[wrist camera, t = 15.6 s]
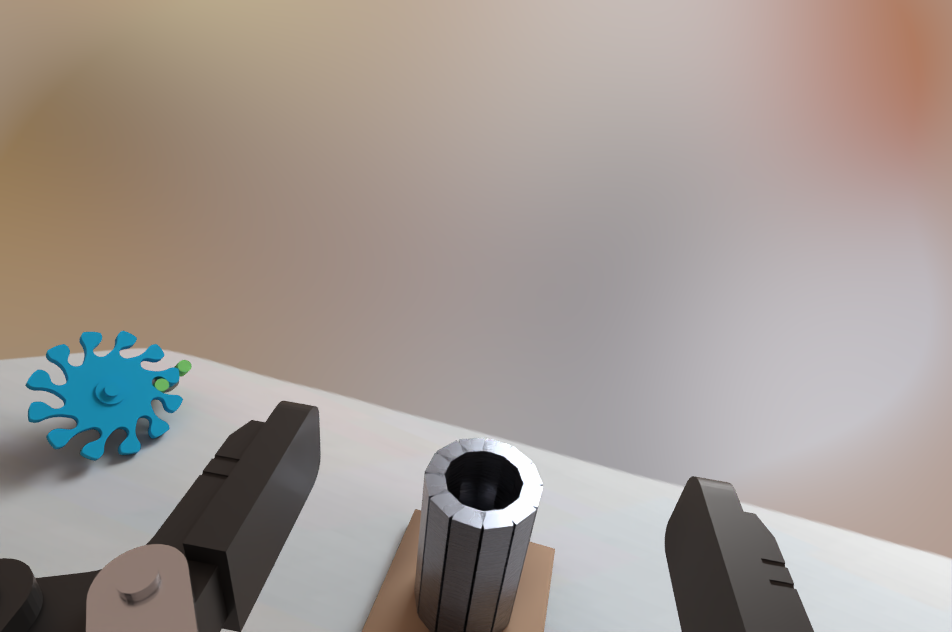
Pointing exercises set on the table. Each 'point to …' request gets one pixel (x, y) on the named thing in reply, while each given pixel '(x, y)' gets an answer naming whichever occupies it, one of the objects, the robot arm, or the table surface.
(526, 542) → the sleeve
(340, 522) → the table surface
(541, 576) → the base plate
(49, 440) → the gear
